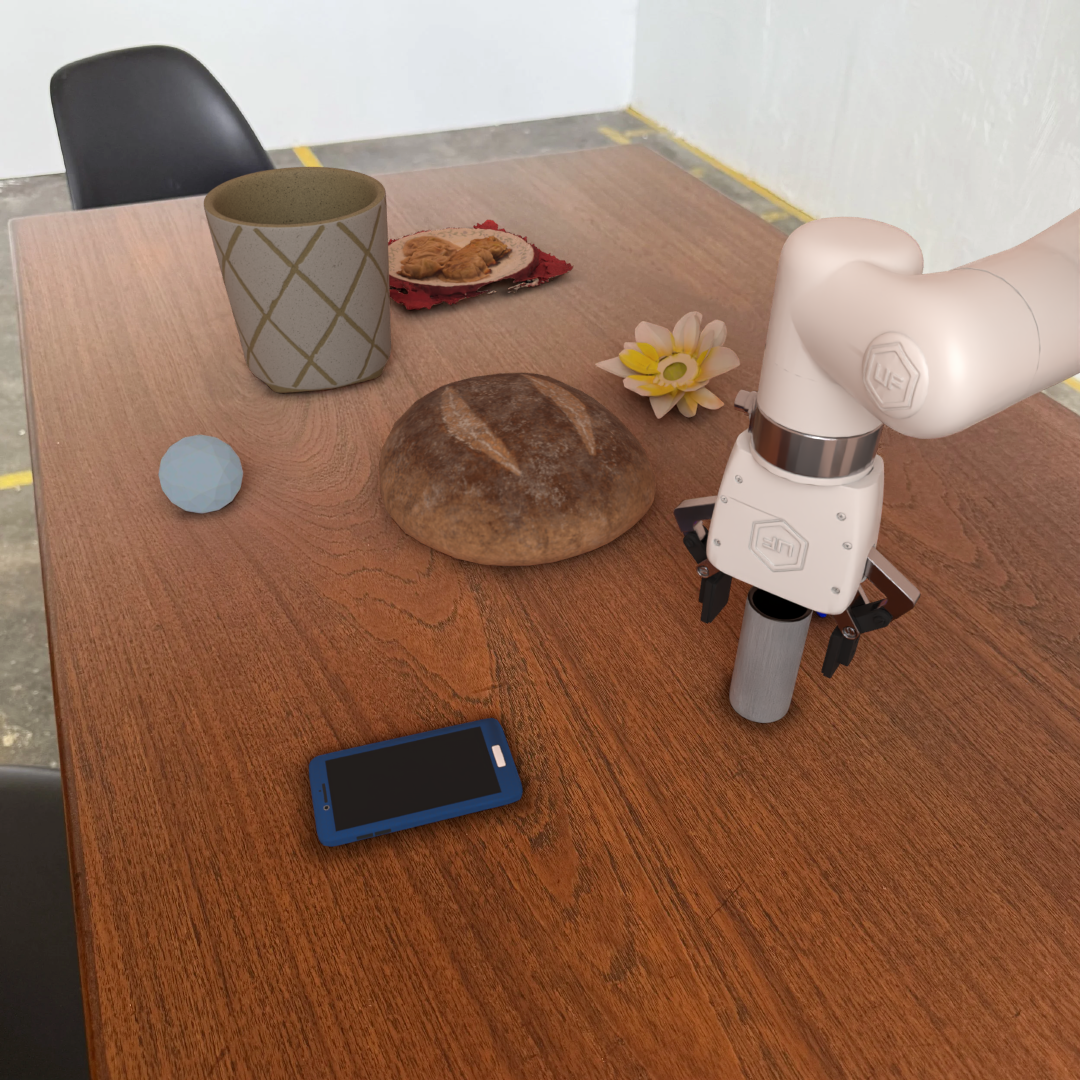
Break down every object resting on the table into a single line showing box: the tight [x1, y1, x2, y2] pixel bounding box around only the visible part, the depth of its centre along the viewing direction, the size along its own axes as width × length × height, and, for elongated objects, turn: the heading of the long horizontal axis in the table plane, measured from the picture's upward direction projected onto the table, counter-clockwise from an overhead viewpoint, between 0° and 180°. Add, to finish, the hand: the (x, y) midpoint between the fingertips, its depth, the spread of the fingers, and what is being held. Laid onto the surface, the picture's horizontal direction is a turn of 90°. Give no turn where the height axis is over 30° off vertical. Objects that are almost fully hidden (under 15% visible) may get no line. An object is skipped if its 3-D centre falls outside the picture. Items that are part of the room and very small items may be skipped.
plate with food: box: [388, 219, 574, 311], centre depth 137 cm, size 24×26×3 cm
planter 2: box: [728, 585, 814, 724], centre depth 70 cm, size 4×4×10 cm
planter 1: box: [203, 166, 392, 394], centre depth 109 cm, size 19×19×20 cm
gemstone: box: [157, 434, 244, 514], centre depth 93 cm, size 8×8×5 cm
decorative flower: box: [595, 310, 741, 419], centre depth 106 cm, size 15×11×10 cm
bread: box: [378, 372, 657, 567], centre depth 91 cm, size 26×27×10 cm
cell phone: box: [308, 717, 524, 847], centre depth 67 cm, size 7×14×1 cm, turn 107°
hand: (772, 637), depth 69 cm, fingers open, 8 cm apart
